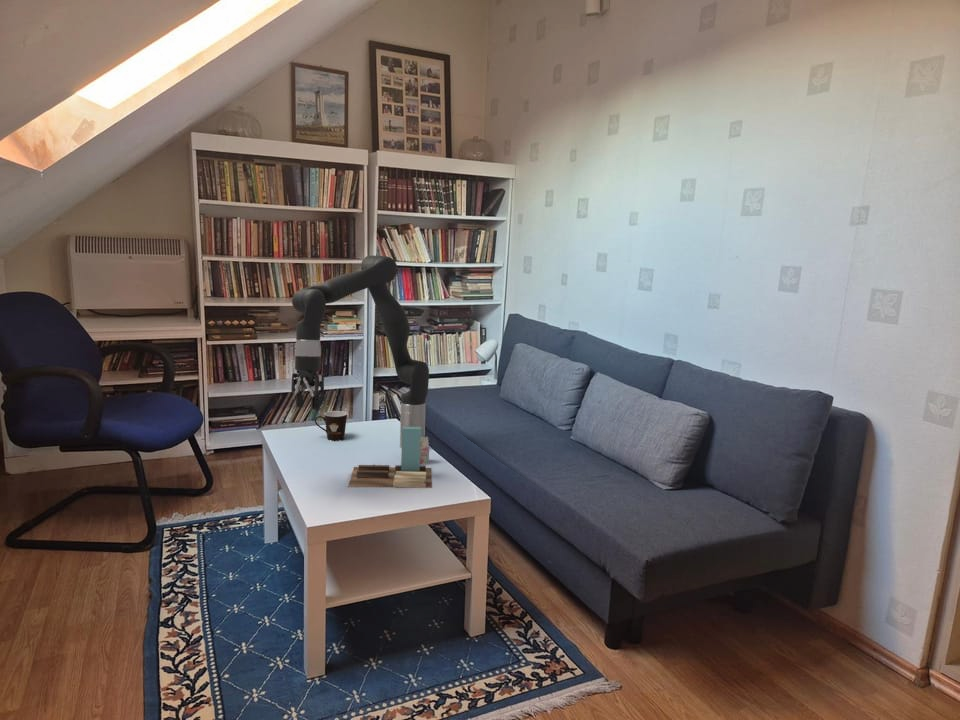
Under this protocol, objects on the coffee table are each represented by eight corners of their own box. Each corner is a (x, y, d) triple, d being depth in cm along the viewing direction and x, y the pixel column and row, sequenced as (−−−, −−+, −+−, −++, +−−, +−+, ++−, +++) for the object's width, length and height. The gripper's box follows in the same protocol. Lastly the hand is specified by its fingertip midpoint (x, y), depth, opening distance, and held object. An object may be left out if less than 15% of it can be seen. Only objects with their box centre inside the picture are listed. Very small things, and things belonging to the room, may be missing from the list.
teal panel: (401, 473, 208) (402, 426, 205) (419, 473, 209) (420, 426, 206) (400, 476, 206) (402, 428, 203) (419, 476, 206) (420, 429, 204)
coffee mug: (351, 437, 247) (351, 412, 246) (338, 443, 240) (338, 417, 238) (327, 432, 252) (327, 408, 250) (313, 438, 244) (313, 413, 242)
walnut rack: (354, 469, 213) (354, 461, 212) (431, 470, 215) (431, 462, 214) (347, 490, 195) (347, 480, 194) (431, 490, 197) (432, 481, 197)
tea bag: (406, 464, 220) (407, 437, 218) (425, 462, 223) (425, 435, 221) (410, 468, 216) (410, 440, 215) (428, 466, 219) (429, 438, 218)
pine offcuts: (394, 480, 202) (394, 471, 202) (426, 480, 203) (426, 471, 202) (393, 487, 196) (393, 478, 195) (426, 487, 197) (426, 478, 196)
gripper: (331, 355, 190) (331, 409, 190) (306, 354, 199) (305, 405, 200) (310, 355, 184) (309, 410, 184) (284, 354, 194) (283, 407, 194)
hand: (307, 408), depth 192 cm, fingers open, 8 cm apart
